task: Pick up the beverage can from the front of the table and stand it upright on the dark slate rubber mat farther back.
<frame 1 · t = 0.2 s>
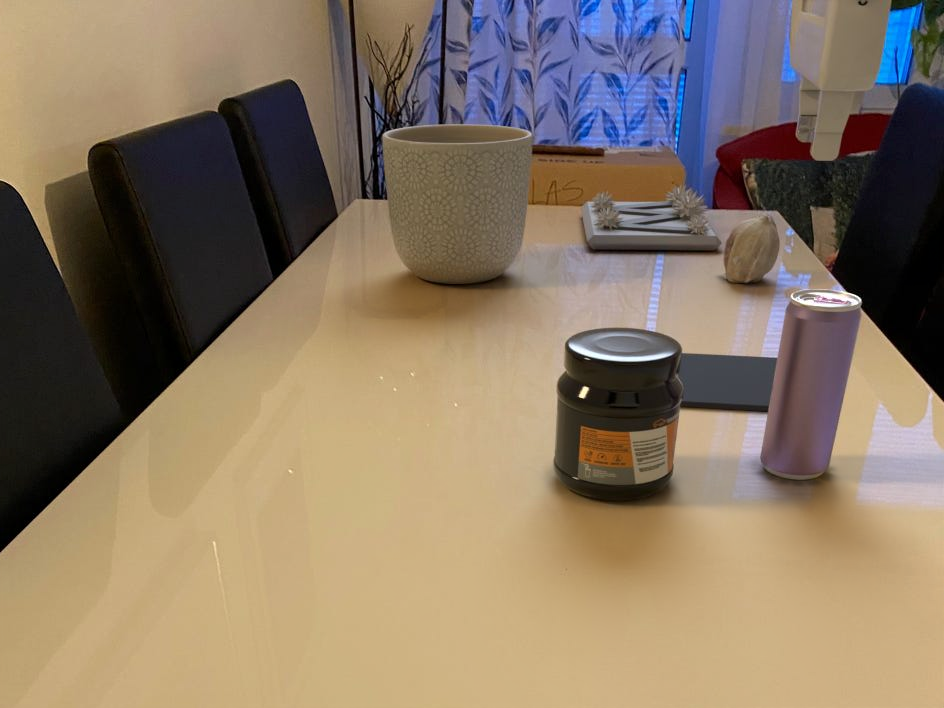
hand: (814, 149, 74), 26 cm above the table, tool pointing down, fingers open, 8 cm apart
supplement container: (611, 481, 87), on the table
beverage can: (792, 470, 89), on the table
planter: (458, 276, 147), on the table
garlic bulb: (745, 282, 144), on the table
mat: (743, 384, 107), on the table
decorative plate: (645, 234, 171), on the table
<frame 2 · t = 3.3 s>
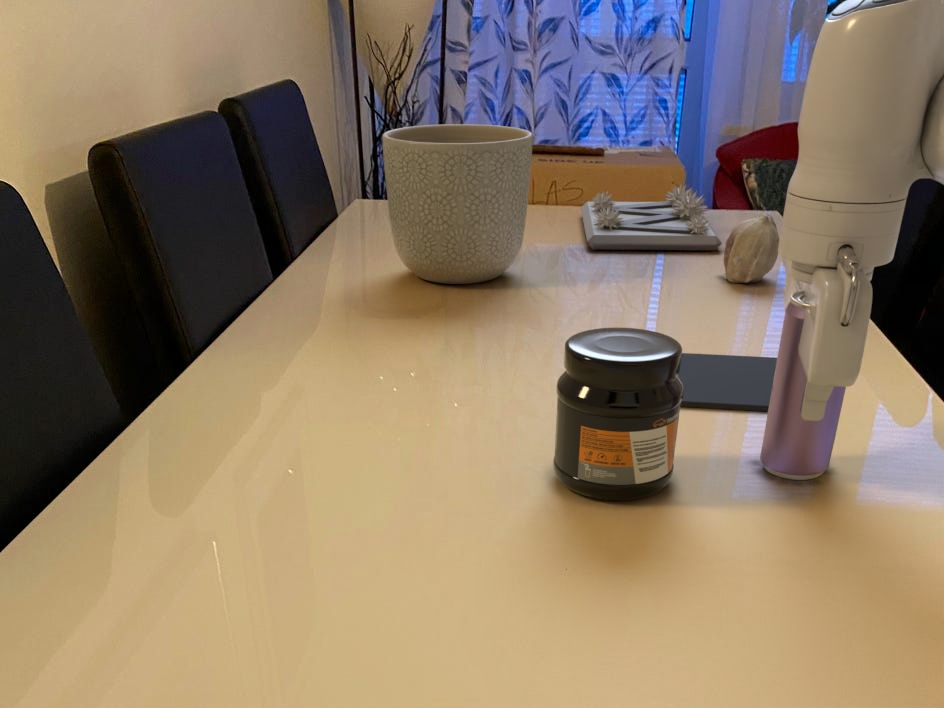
hand: (805, 402, 86), 6 cm above the table, tool pointing down, fingers closed on beverage can, 6 cm apart
beverage can: (792, 470, 89), on the table, touching gripper
everything else where it was.
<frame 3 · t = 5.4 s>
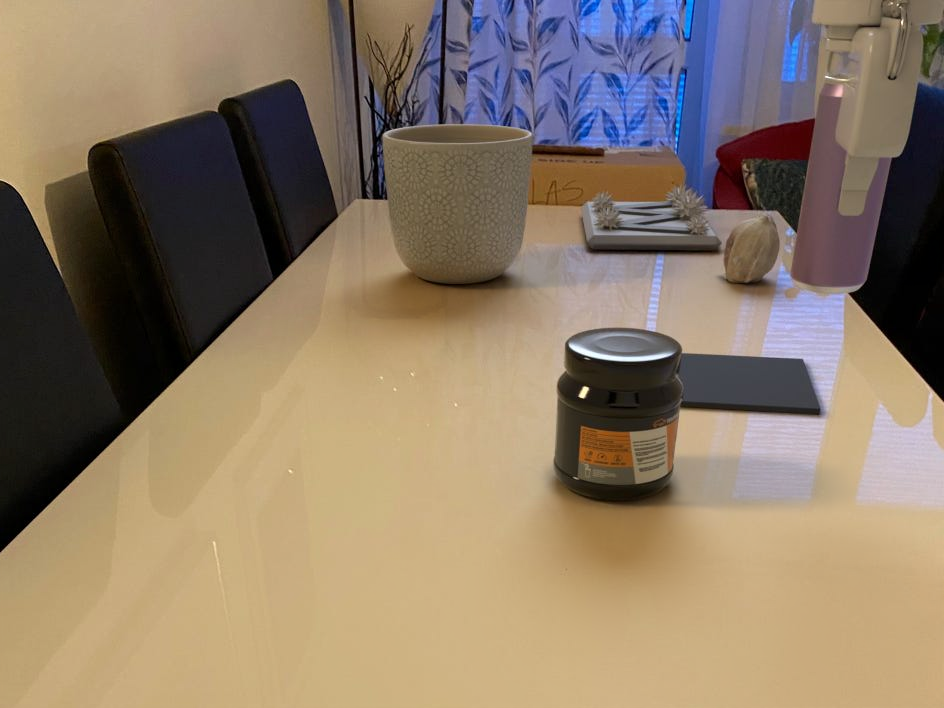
hand: (841, 204, 78), 22 cm above the table, tool pointing down, fingers closed on beverage can, 6 cm apart
beverage can: (825, 288, 81), point 16 cm above the table, touching gripper
everything else where it was.
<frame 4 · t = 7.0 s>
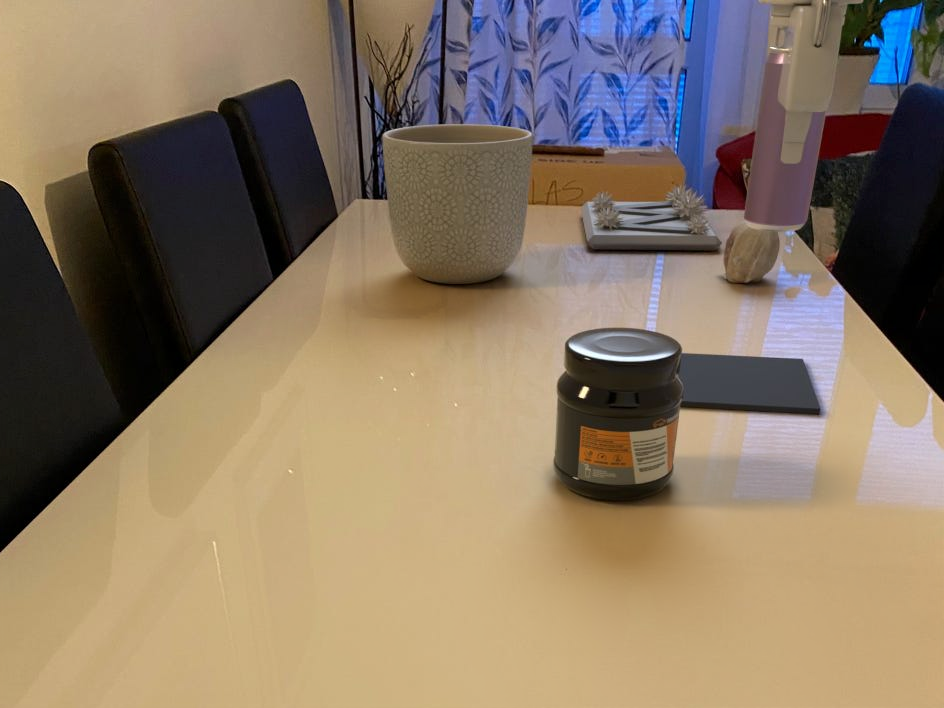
hand: (785, 156, 93), 23 cm above the table, tool pointing down, fingers closed on beverage can, 6 cm apart
beverage can: (773, 228, 96), point 16 cm above the table, touching gripper
everything else where it was.
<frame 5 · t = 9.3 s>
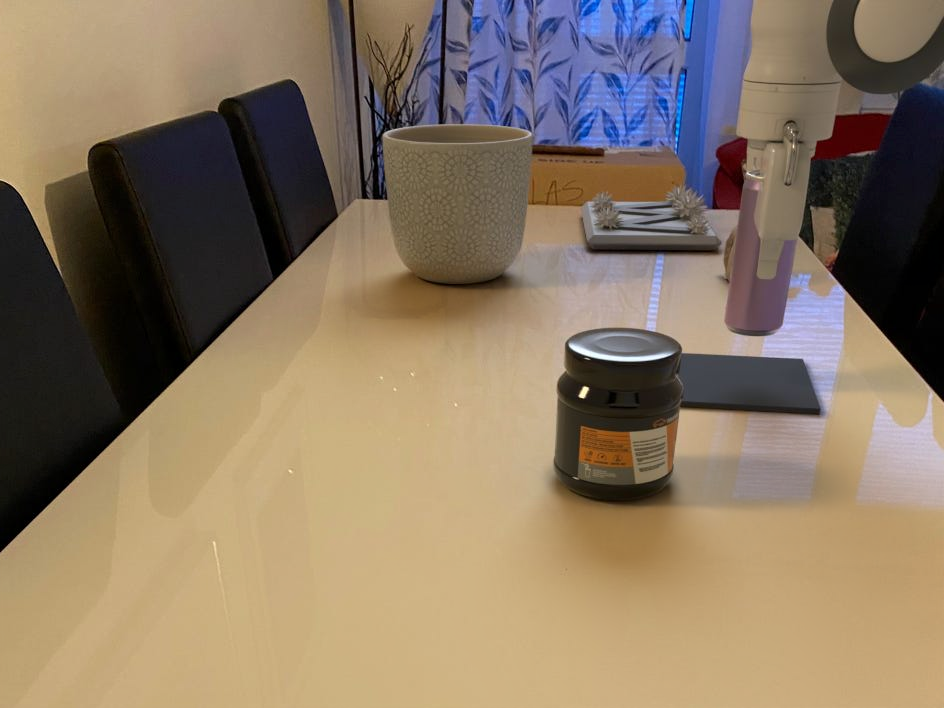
hand: (762, 268, 101), 12 cm above the table, tool pointing down, fingers closed on beverage can, 6 cm apart
beverage can: (751, 331, 104), point 6 cm above the table, touching gripper
everything else where it was.
when the fingers open (7 cm above the table, at t = 11.1 s): beverage can stays where it is, resting on mat.
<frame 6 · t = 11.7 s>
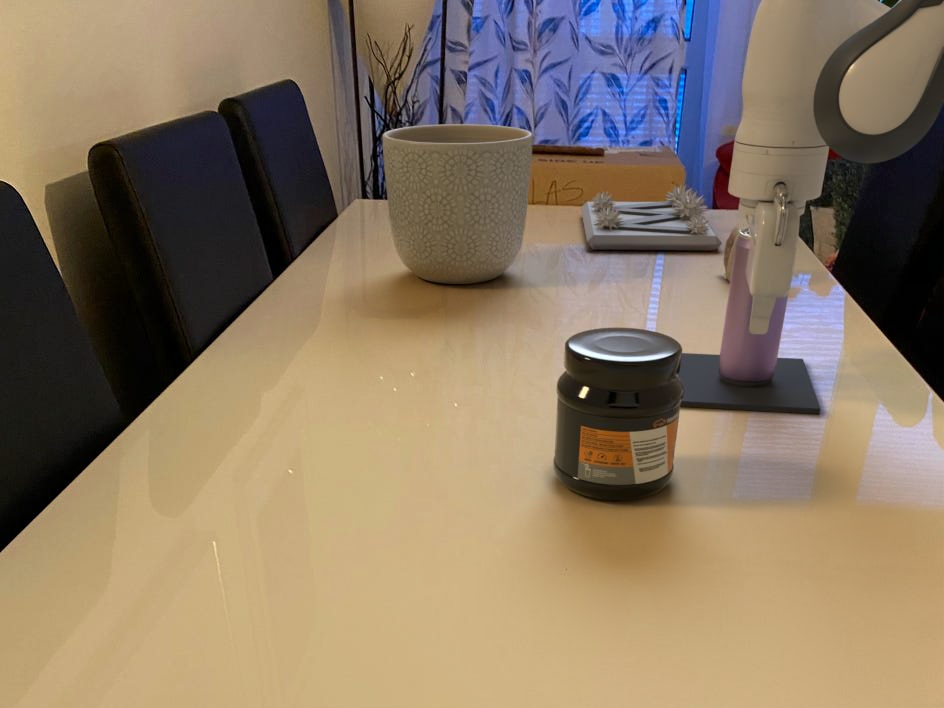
hand: (754, 319, 104), 7 cm above the table, tool pointing down, fingers open, 8 cm apart
beverage can: (744, 380, 107), resting on mat
everything else where it was.
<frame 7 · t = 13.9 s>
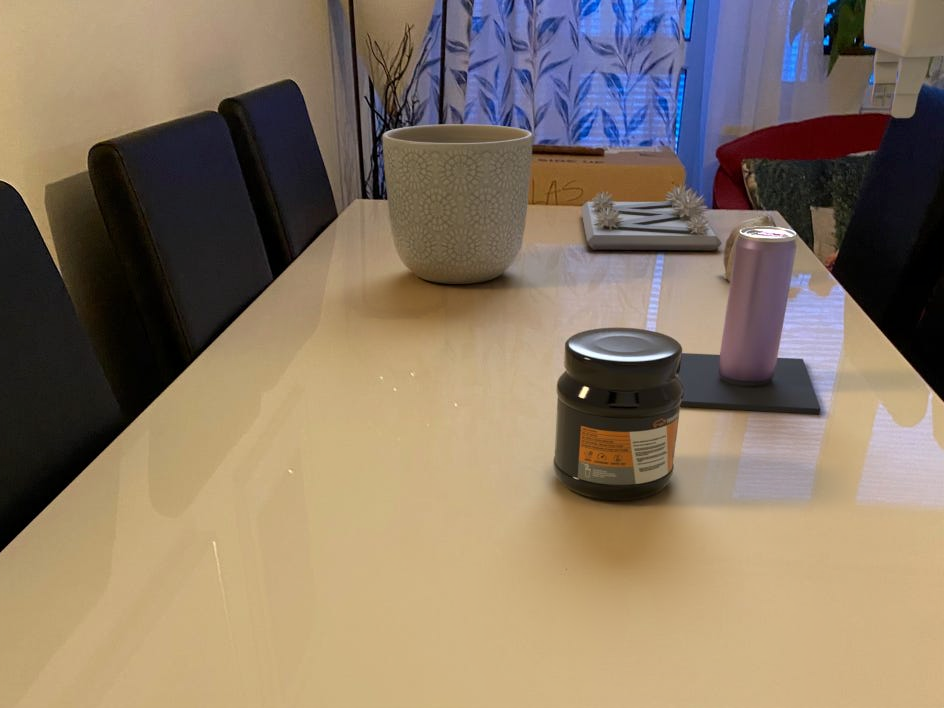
hand: (890, 111, 88), 27 cm above the table, tool pointing down, fingers open, 8 cm apart
nothing on the table moved.
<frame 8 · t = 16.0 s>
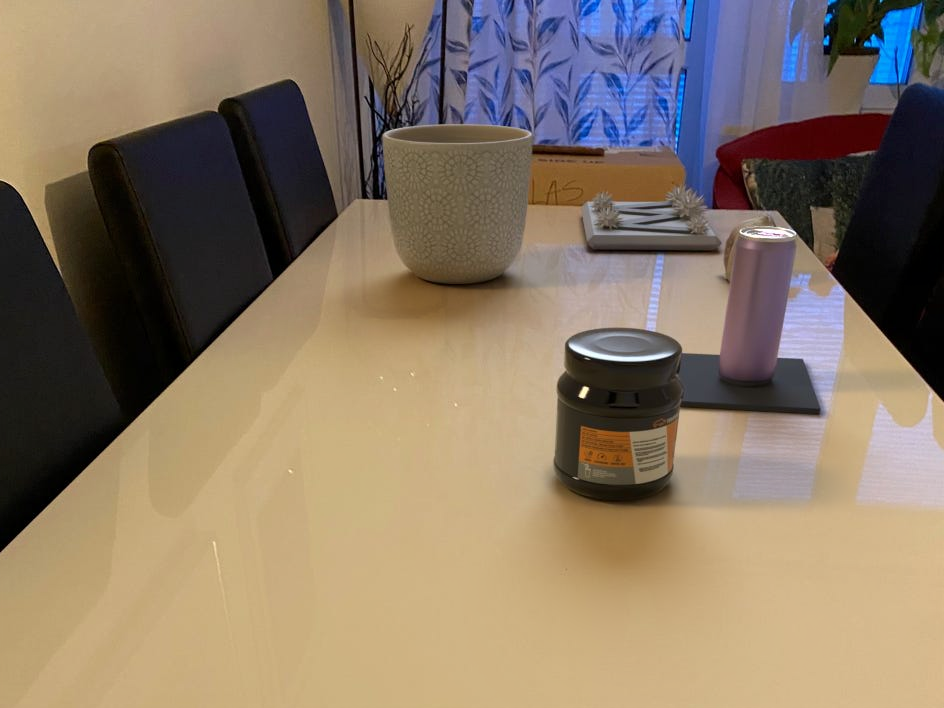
nothing on the table moved.
at the end: beverage can inside the target area on the mat (0.1 cm from its centre), point 0.4 cm above the mat's base; beverage can tilted 0°; the gripper is holding nothing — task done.
